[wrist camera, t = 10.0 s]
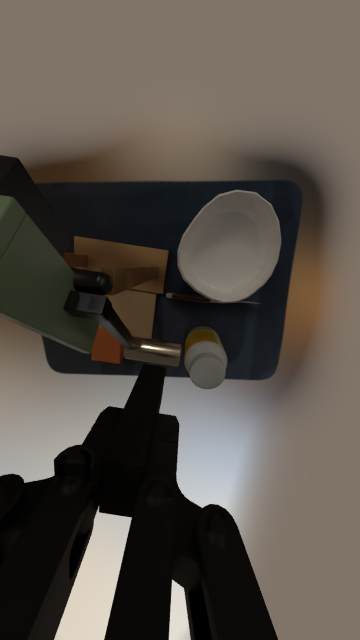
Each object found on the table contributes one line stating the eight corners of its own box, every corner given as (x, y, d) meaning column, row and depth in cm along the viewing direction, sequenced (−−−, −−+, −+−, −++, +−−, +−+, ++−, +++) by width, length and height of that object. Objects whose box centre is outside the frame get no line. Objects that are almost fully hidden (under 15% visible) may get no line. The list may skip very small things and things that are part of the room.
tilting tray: (184, 323, 21) (176, 375, 19) (36, 300, 21) (14, 350, 19) (217, 176, 7) (200, 329, 5) (-252, 103, 7) (-455, 228, 5)
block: (119, 364, 28) (121, 338, 27) (91, 359, 28) (91, 333, 27) (127, 352, 32) (129, 328, 30) (103, 348, 32) (104, 324, 30)
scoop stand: (163, 293, 29) (128, 333, 12) (77, 279, 29) (-80, 301, 12) (168, 251, 28) (137, 229, 11) (77, 236, 28) (-104, 191, 10)
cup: (178, 288, 29) (173, 299, 20) (184, 212, 26) (182, 183, 17) (243, 293, 29) (270, 308, 19) (256, 218, 26) (294, 192, 17)
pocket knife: (166, 297, 29) (165, 299, 27) (167, 291, 29) (165, 293, 27) (258, 305, 29) (263, 308, 27) (259, 299, 29) (264, 302, 27)
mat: (83, 282, 29) (82, 282, 29) (156, 293, 29) (156, 294, 29) (82, 344, 32) (81, 345, 32) (149, 354, 32) (149, 356, 32)
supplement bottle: (226, 341, 31) (242, 374, 22) (202, 363, 32) (207, 403, 23) (202, 318, 30) (208, 342, 21) (178, 341, 31) (173, 374, 22)
